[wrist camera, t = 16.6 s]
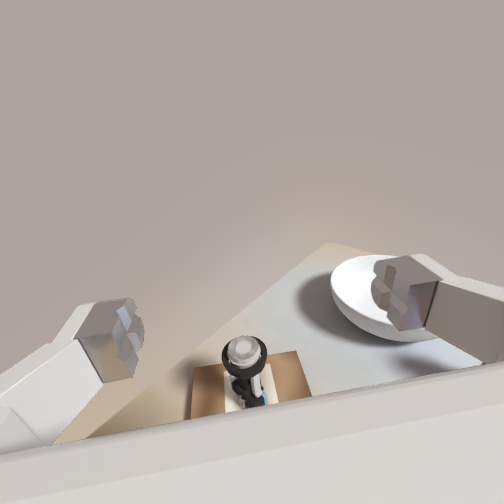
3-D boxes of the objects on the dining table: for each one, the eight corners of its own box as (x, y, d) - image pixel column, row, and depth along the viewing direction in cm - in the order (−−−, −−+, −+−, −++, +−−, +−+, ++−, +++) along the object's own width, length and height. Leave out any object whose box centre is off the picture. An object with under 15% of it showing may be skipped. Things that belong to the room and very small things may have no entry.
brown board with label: (189, 480, 29) (184, 469, 28) (195, 374, 41) (192, 363, 40) (328, 452, 30) (329, 440, 29) (296, 357, 42) (296, 346, 41)
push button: (217, 393, 36) (204, 342, 32) (246, 369, 39) (238, 318, 35) (250, 429, 32) (241, 376, 27) (279, 398, 35) (276, 345, 30)
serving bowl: (473, 377, 37) (490, 342, 34) (320, 342, 44) (321, 311, 41) (442, 289, 53) (451, 260, 50) (335, 275, 61) (337, 249, 58)
